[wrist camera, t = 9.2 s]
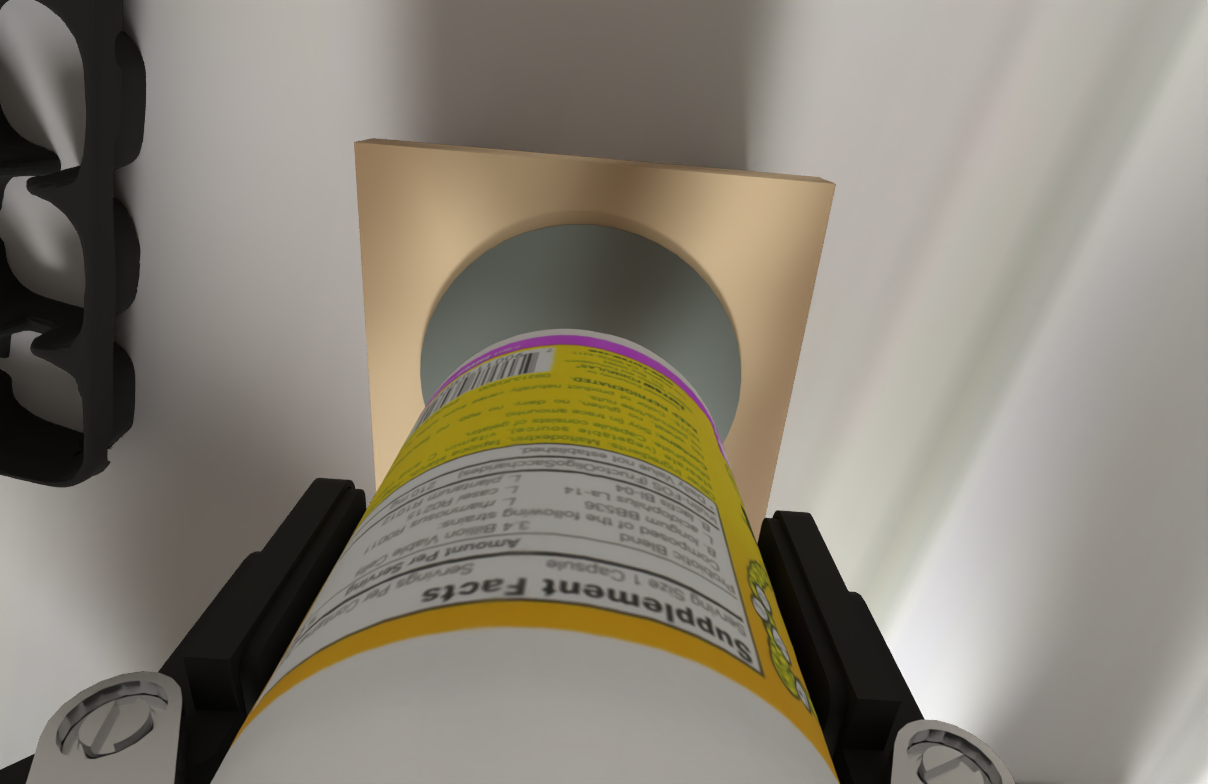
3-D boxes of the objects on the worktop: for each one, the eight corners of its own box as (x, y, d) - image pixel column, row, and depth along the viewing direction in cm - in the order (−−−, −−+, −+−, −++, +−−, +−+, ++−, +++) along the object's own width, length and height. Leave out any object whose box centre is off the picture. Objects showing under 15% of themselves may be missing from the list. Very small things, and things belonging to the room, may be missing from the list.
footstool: (770, 157, 24) (838, 185, 17) (718, 455, 29) (755, 573, 22) (428, 127, 24) (350, 142, 16) (434, 434, 28) (377, 546, 21)
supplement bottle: (657, 609, 17) (777, 1826, 5) (392, 536, 16) (-211, 1802, 4) (770, 372, 14) (1569, 1741, 2) (461, 270, 13) (-618, 1626, 2)
